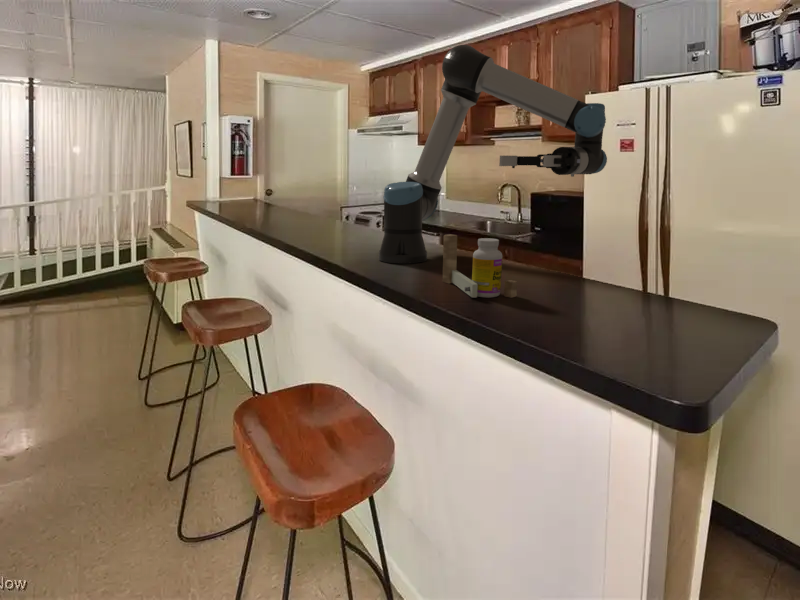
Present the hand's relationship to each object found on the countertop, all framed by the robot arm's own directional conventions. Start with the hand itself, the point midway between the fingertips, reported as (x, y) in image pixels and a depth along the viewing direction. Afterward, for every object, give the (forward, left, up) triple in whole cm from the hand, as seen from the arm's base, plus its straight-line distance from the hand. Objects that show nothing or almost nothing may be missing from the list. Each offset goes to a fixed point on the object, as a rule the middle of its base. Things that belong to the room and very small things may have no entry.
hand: (521, 160), depth 136 cm
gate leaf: (+2, -23, -30) cm, 38 cm away
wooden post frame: (+3, -19, -30) cm, 35 cm away
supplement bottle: (+8, -22, -30) cm, 38 cm away
